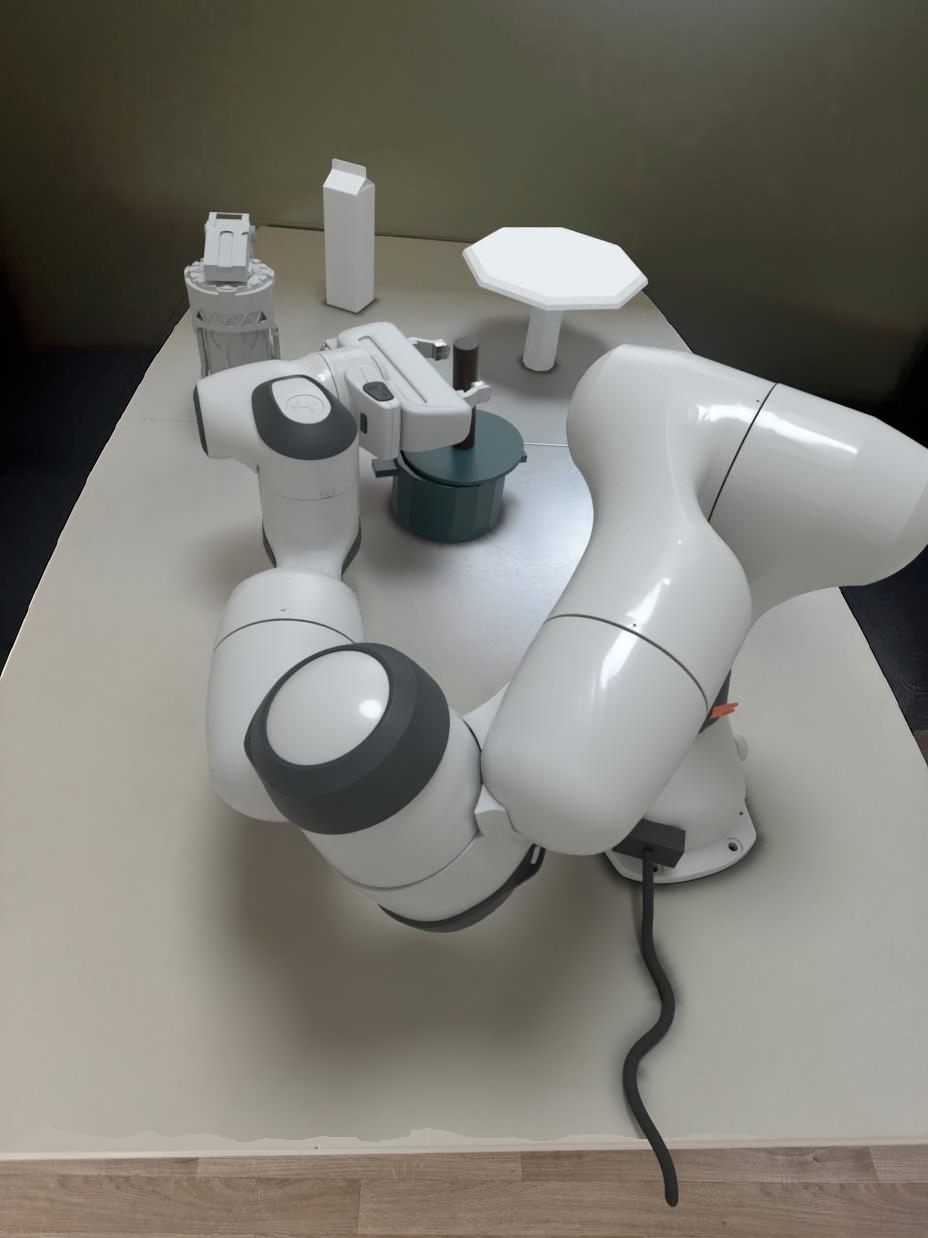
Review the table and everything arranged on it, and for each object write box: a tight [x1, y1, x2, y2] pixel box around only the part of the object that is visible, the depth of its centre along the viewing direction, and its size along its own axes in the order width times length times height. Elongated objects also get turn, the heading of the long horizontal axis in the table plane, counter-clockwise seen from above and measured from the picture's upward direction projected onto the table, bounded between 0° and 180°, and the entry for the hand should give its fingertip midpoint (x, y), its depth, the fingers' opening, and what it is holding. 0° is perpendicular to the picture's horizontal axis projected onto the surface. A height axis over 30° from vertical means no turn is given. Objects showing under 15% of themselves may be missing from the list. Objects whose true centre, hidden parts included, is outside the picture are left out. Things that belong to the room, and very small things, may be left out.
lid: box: [403, 336, 525, 486], centre depth 91 cm, size 15×15×14 cm
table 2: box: [461, 226, 649, 372], centre depth 124 cm, size 28×28×17 cm
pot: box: [371, 448, 528, 544], centre depth 99 cm, size 14×19×8 cm
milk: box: [322, 158, 376, 314], centre depth 130 cm, size 6×6×22 cm
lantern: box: [183, 211, 282, 380], centre depth 102 cm, size 13×10×25 cm
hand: (466, 368), depth 88 cm, fingers open, 8 cm apart
